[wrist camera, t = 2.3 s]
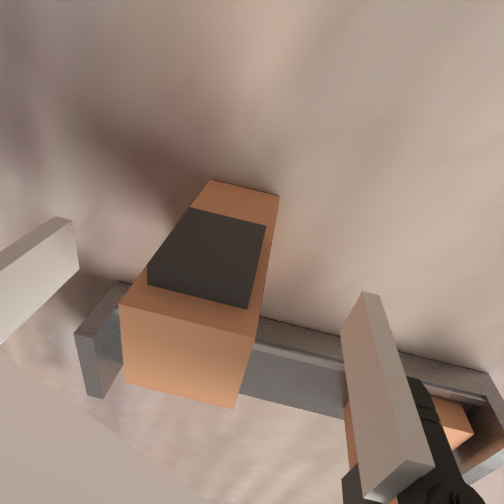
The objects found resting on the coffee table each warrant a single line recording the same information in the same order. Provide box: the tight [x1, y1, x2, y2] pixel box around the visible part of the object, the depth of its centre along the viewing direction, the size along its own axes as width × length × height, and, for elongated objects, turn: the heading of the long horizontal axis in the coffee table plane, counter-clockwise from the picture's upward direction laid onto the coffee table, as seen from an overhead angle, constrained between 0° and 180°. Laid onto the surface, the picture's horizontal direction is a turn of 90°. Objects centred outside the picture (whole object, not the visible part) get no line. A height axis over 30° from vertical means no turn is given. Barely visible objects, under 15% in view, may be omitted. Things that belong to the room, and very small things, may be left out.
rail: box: [74, 281, 504, 485], centre depth 22 cm, size 7×28×5 cm, turn 79°
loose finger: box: [118, 180, 280, 409], centre depth 14 cm, size 4×8×10 cm, turn 169°
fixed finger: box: [341, 397, 474, 504], centre depth 18 cm, size 4×8×10 cm, turn 79°
